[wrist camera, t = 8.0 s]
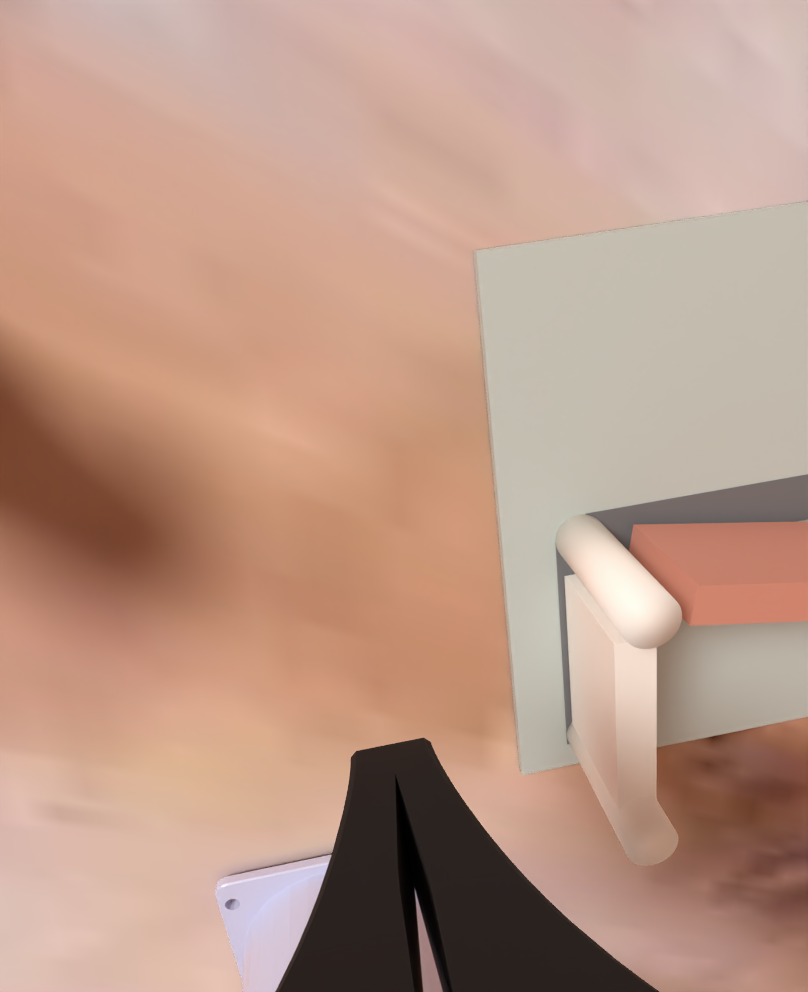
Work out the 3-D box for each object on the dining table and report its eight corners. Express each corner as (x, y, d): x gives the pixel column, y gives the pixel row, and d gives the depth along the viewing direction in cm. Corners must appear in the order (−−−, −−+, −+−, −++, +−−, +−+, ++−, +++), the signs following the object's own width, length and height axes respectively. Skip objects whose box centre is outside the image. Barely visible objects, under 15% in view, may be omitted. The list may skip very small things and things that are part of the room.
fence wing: (626, 565, 24) (703, 649, 19) (634, 518, 23) (715, 593, 18) (849, 559, 25) (971, 637, 20) (862, 514, 24) (991, 584, 20)
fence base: (606, 736, 27) (678, 859, 22) (563, 745, 27) (626, 871, 22) (599, 505, 24) (682, 588, 18) (549, 514, 23) (620, 600, 18)
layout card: (903, 689, 28) (912, 696, 28) (519, 767, 27) (522, 775, 27) (983, 175, 21) (996, 174, 21) (473, 250, 20) (477, 251, 20)
